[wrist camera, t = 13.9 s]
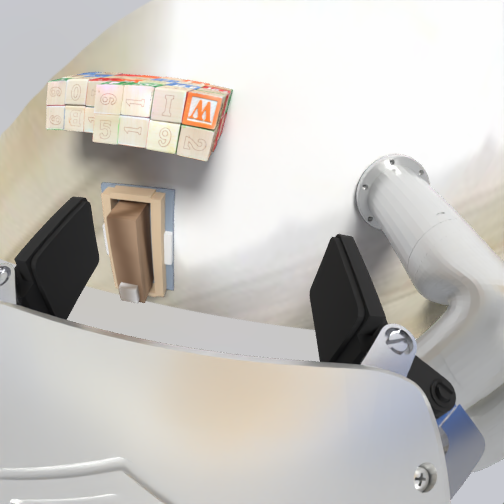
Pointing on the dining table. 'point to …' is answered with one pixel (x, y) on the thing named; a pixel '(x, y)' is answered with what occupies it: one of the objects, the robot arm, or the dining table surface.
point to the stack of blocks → (140, 111)
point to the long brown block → (131, 249)
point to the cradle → (160, 228)
